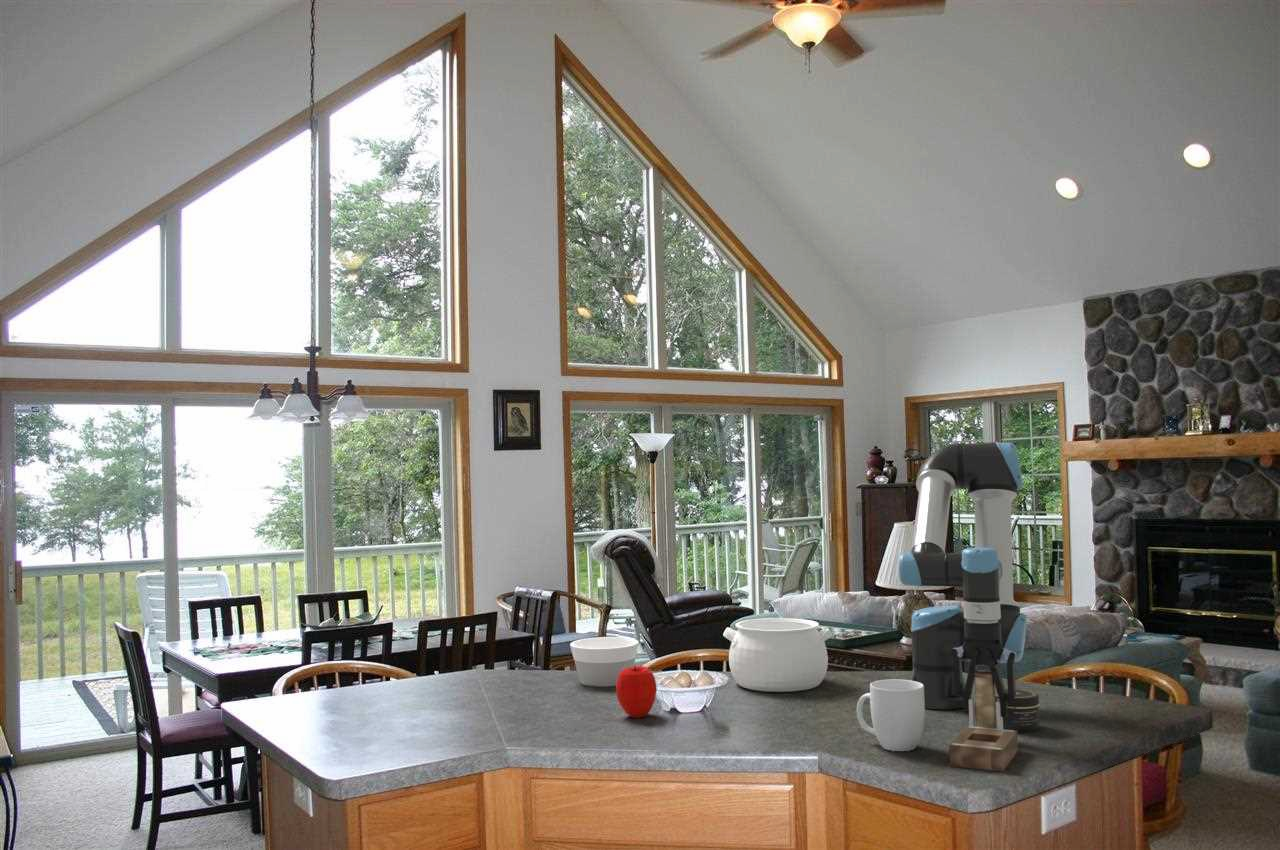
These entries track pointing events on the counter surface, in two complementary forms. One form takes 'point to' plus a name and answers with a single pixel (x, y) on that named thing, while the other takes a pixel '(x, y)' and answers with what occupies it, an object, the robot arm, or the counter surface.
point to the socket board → (983, 748)
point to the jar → (1021, 711)
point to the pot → (778, 654)
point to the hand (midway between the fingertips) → (986, 730)
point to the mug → (895, 713)
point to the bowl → (603, 659)
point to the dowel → (985, 699)
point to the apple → (636, 690)
